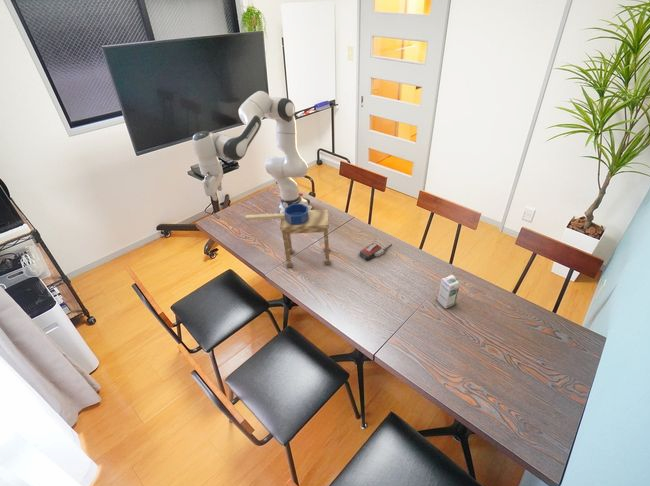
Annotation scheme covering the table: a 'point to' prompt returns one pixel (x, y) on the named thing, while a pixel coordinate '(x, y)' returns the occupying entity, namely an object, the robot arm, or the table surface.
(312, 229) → the stand
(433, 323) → the table surface
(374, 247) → the walkie-talkie
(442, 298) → the syrup box
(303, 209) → the blue saucepan
